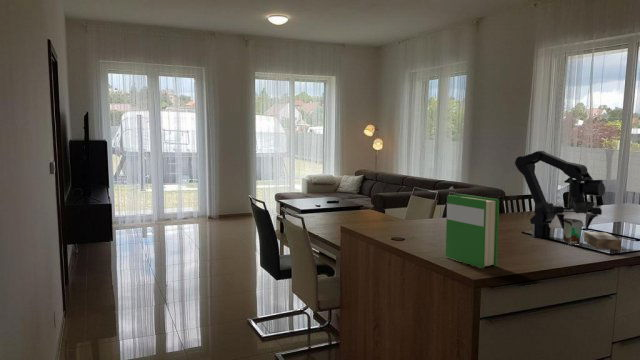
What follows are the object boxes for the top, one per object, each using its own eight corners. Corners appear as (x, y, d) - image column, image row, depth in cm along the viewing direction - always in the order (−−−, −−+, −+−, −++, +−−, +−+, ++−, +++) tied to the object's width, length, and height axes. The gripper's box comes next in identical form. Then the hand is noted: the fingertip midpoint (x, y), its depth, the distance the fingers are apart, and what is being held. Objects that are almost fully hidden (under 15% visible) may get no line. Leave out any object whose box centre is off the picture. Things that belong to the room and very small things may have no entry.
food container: (587, 246, 189) (588, 223, 189) (571, 246, 191) (572, 222, 190) (576, 240, 202) (577, 218, 201) (561, 239, 203) (562, 217, 202)
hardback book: (497, 266, 160) (499, 199, 158) (482, 269, 156) (484, 200, 154) (460, 255, 175) (461, 194, 173) (445, 257, 172) (447, 195, 170)
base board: (596, 248, 186) (596, 238, 185) (583, 241, 200) (584, 231, 200) (620, 249, 184) (621, 239, 183) (606, 241, 198) (606, 232, 198)
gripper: (558, 195, 189) (556, 232, 190) (607, 196, 184) (605, 234, 186) (550, 192, 199) (549, 227, 201) (597, 193, 195) (595, 229, 197)
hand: (574, 229), depth 196 cm, fingers open, 9 cm apart
